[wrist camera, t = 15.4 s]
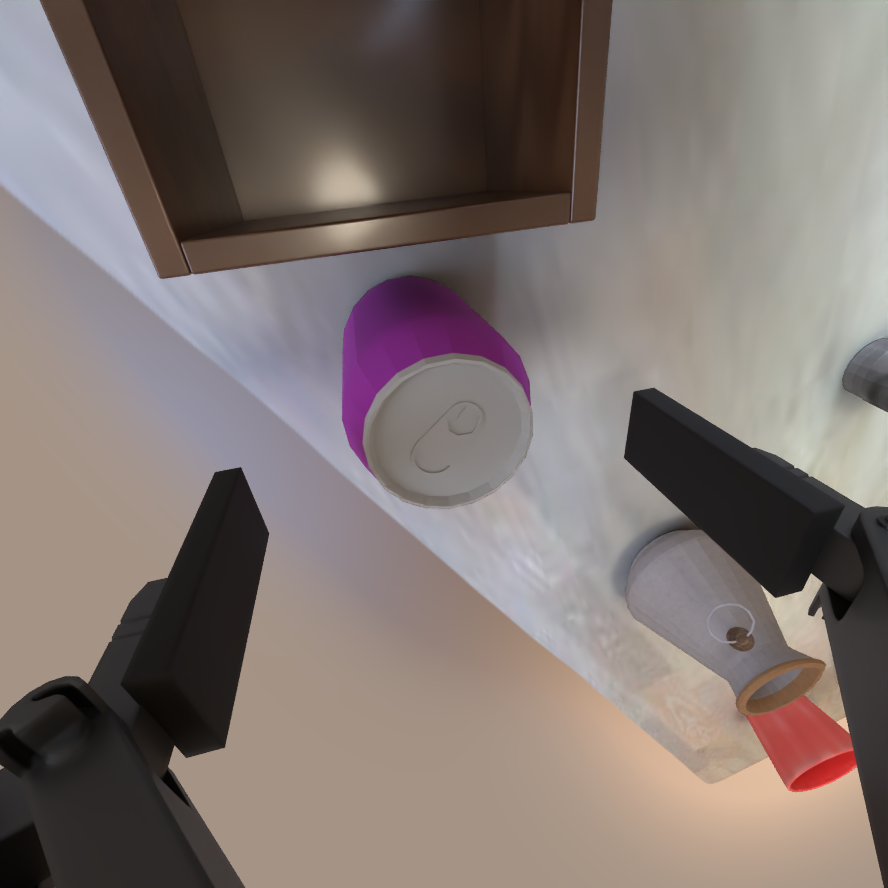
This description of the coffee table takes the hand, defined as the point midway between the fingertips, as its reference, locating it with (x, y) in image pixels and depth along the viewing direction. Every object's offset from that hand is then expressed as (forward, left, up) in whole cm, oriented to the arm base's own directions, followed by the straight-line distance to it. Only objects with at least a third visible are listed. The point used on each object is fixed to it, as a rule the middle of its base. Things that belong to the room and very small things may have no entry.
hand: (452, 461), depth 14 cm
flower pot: (-45, +62, -13) cm, 78 cm away
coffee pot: (-19, +21, -13) cm, 32 cm away
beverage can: (0, 0, -13) cm, 13 cm away
